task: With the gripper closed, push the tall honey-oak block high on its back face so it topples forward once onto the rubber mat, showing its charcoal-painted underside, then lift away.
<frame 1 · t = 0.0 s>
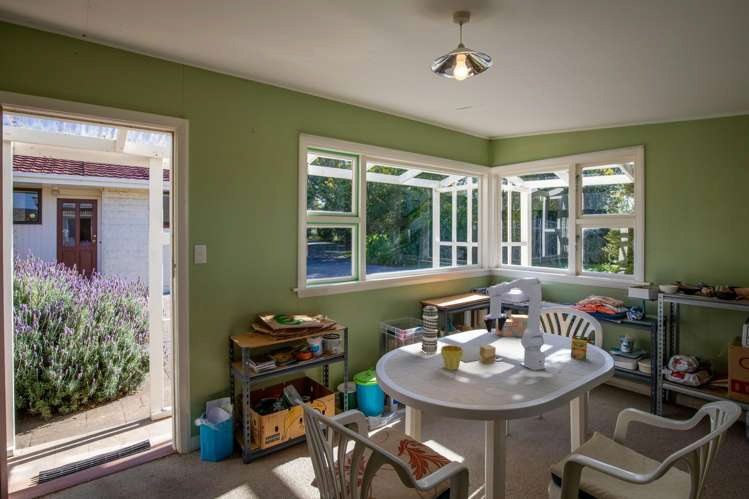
hand: (494, 331, 234), 10 cm above the table, tool pointing down, fingers open, 7 cm apart
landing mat: (472, 354, 226), on the table
plant pot: (451, 368, 206), on the table
crayon box: (578, 358, 222), on the table
stack of blocks: (513, 335, 263), on the table
oak block: (487, 362, 214), on the table
decorative candle: (429, 352, 229), on the table
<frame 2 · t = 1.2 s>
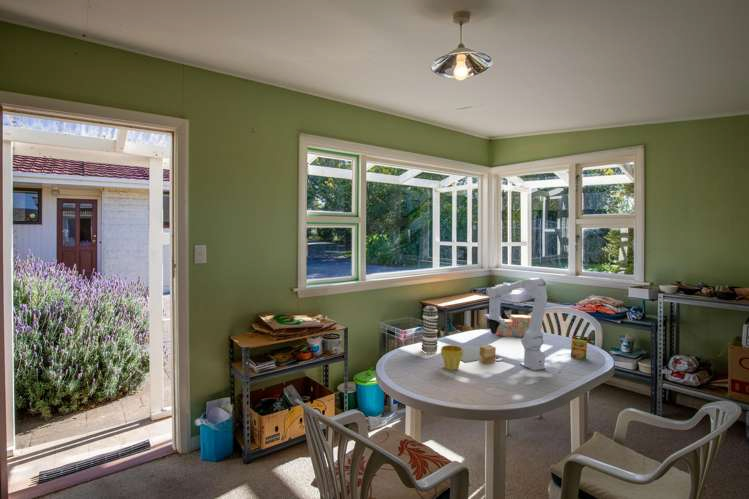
hand: (493, 333, 229), 10 cm above the table, tool pointing down, fingers closed
nothing on the table moved.
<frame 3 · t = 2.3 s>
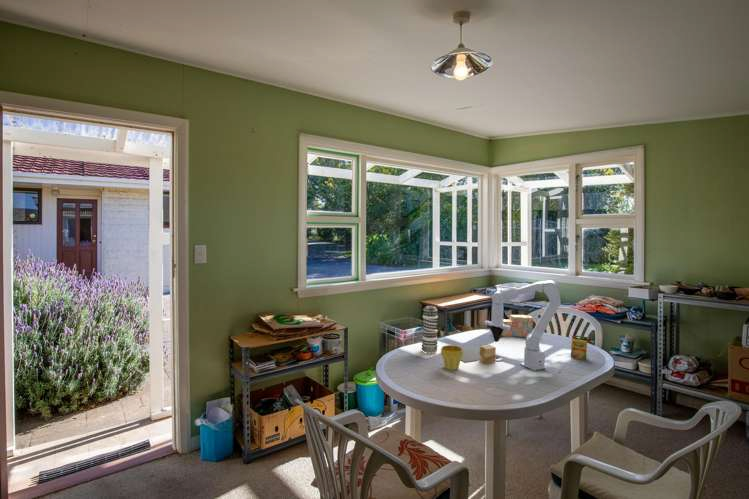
hand: (496, 341, 215), 10 cm above the table, tool pointing down, fingers closed
nothing on the table moved.
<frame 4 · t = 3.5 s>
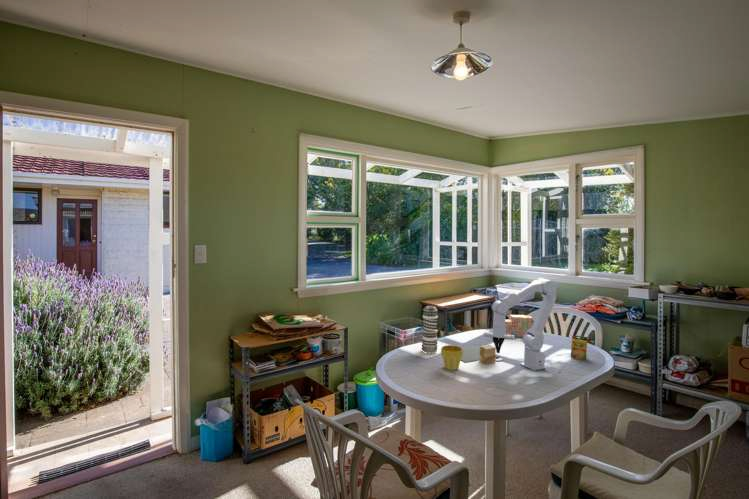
hand: (498, 352, 207), 7 cm above the table, tool pointing down, fingers closed
nothing on the table moved.
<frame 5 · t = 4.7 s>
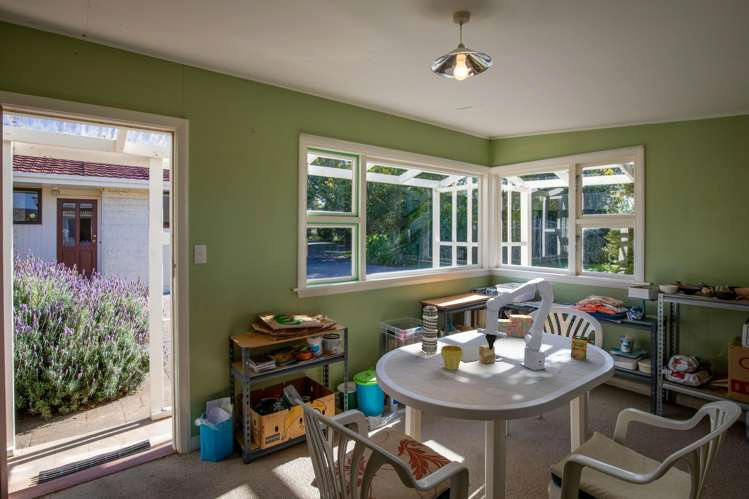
hand: (490, 349, 211), 8 cm above the table, tool pointing down, fingers closed
oak block: (487, 361, 214), on the table, tilted 6°, touching gripper
everything else where it was.
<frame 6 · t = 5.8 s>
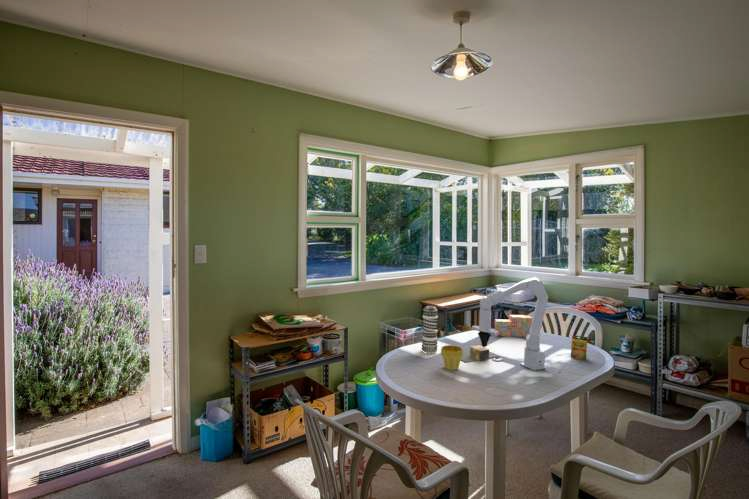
hand: (484, 346, 216), 7 cm above the table, tool pointing down, fingers closed
oak block: (484, 354, 216), point 3 cm above the table, tilted 90°, touching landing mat
everything else where it was.
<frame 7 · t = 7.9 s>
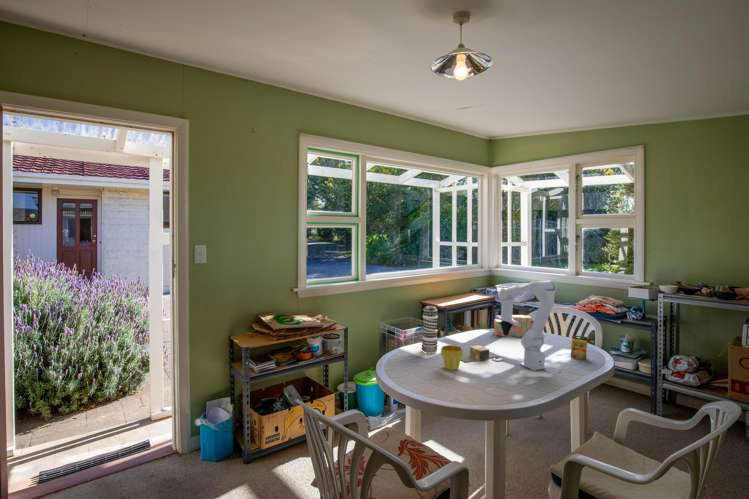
hand: (505, 335, 226), 10 cm above the table, tool pointing down, fingers closed
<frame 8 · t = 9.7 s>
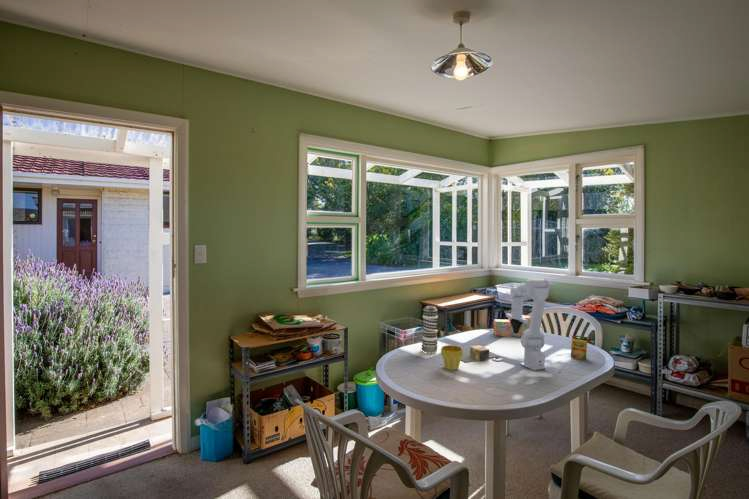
hand: (516, 333, 230), 10 cm above the table, tool pointing down, fingers closed
at the end: oak block tilted 90°; oak block touching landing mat; oak block inside the target area (3.1 cm from its centre), point 2.9 cm above the table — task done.
